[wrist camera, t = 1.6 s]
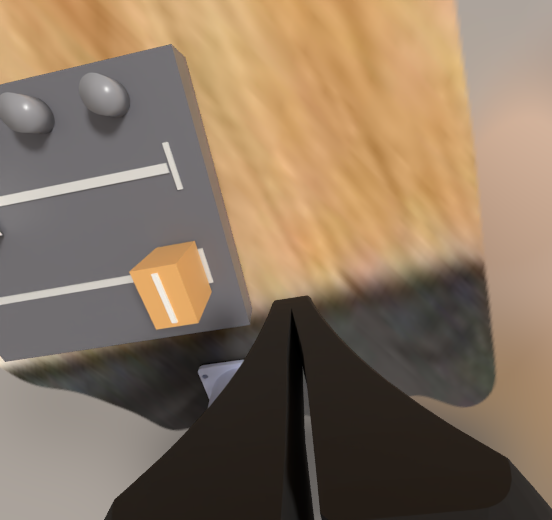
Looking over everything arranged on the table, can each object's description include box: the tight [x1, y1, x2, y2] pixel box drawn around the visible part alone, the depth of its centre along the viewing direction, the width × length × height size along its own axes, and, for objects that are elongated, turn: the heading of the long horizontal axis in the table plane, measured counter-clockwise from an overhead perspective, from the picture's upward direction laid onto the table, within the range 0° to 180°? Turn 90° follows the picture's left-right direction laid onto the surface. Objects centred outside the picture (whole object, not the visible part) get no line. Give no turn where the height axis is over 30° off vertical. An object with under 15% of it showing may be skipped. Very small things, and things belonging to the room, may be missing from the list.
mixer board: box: [0, 44, 252, 362], centre depth 16 cm, size 16×19×3 cm
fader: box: [129, 241, 212, 330], centre depth 15 cm, size 4×2×3 cm, turn 10°
